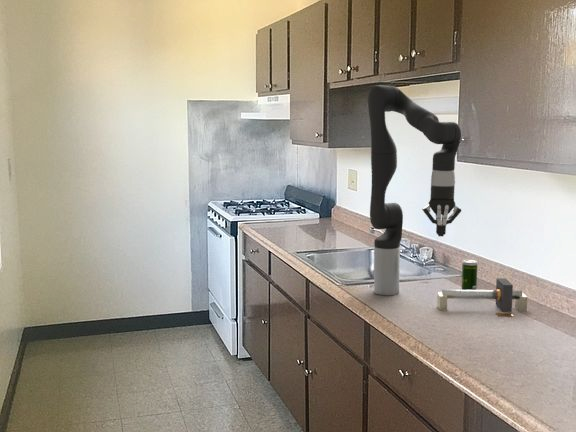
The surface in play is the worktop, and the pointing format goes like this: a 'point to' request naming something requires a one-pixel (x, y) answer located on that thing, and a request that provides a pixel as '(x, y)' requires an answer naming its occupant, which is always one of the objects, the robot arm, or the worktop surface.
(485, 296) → the pipe
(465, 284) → the beer can
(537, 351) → the worktop surface
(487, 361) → the worktop surface
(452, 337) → the worktop surface
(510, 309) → the collar
